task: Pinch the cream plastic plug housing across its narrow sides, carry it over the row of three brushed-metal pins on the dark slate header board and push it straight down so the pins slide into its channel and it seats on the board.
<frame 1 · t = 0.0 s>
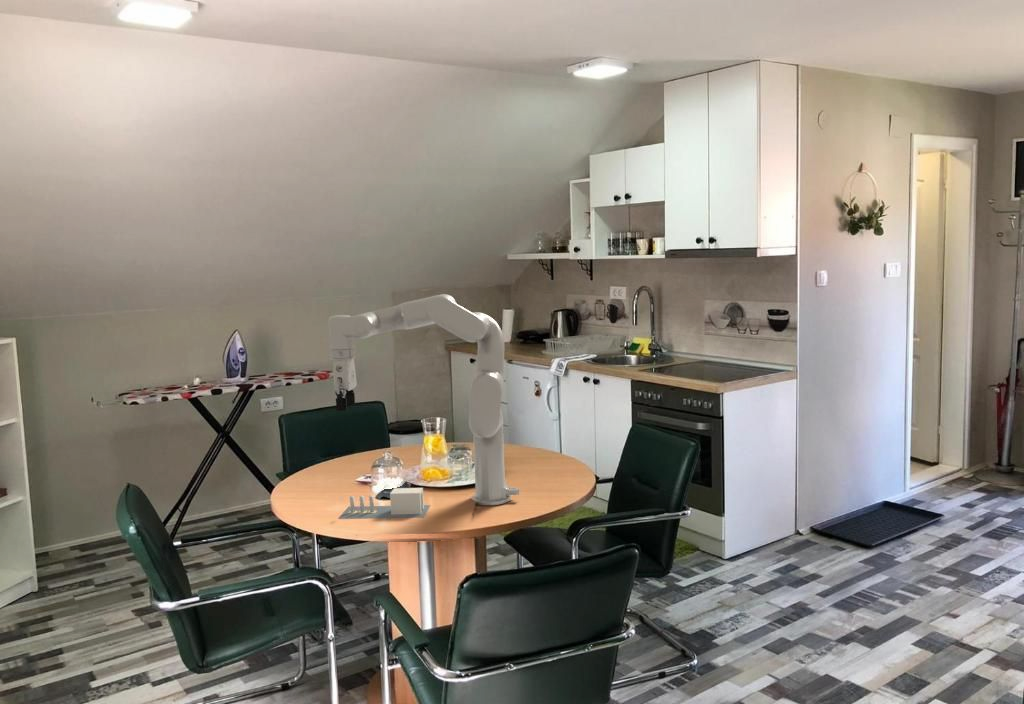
hand: (346, 407, 267), 31 cm above the table, tool pointing down, fingers open, 9 cm apart
plug housing: (407, 511, 255), point 1 cm above the table, touching header board
header board: (385, 515, 256), on the table
electronic device: (393, 498, 276), on the table
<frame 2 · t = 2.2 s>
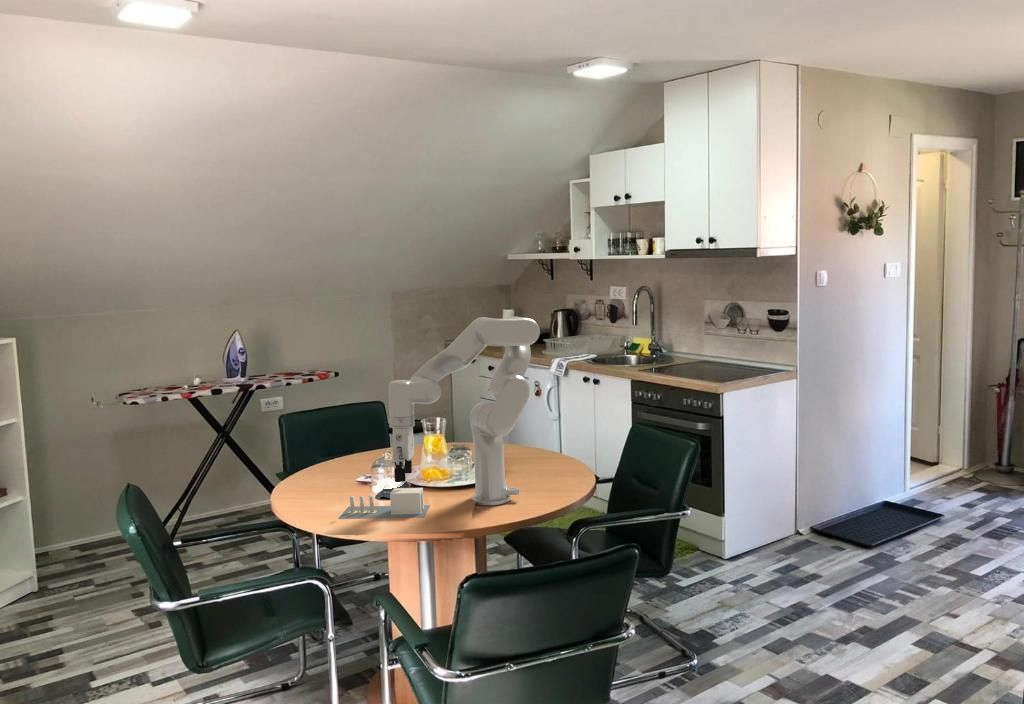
hand: (403, 477, 254), 12 cm above the table, tool pointing down, fingers open, 9 cm apart
nothing on the table moved.
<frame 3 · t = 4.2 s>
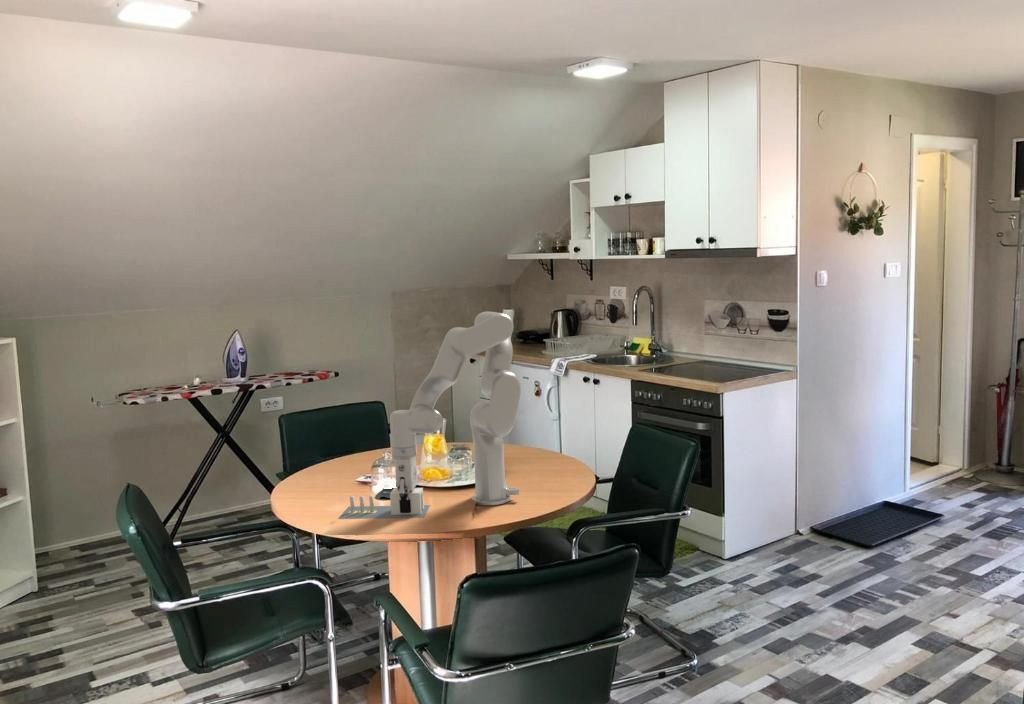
hand: (407, 508, 255), 2 cm above the table, tool pointing down, fingers closed on plug housing, 5 cm apart
plug housing: (407, 511, 255), point 1 cm above the table, touching gripper, header board
everything else where it was.
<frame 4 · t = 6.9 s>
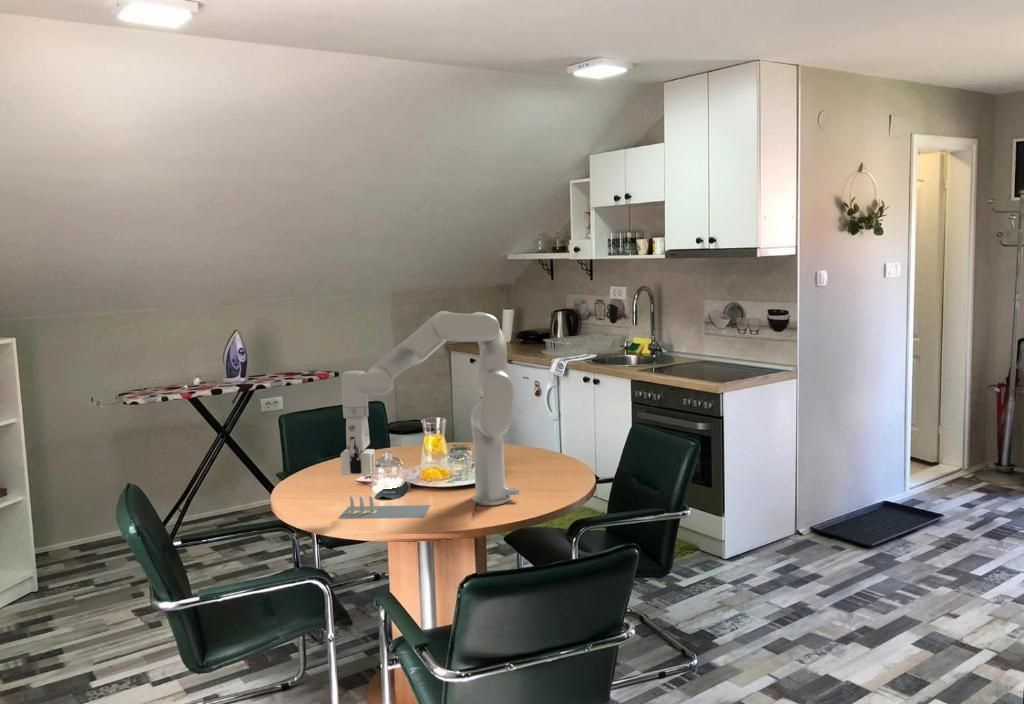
hand: (358, 469, 255), 14 cm above the table, tool pointing down, fingers closed on plug housing, 5 cm apart
plug housing: (358, 472, 255), point 14 cm above the table, touching gripper
everything else where it was.
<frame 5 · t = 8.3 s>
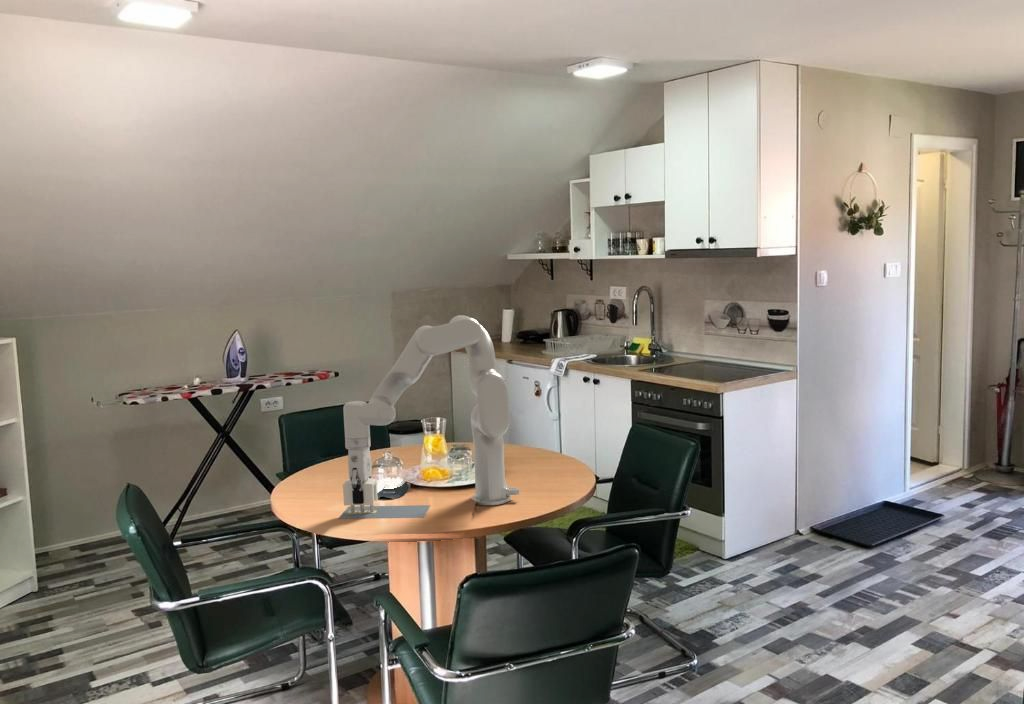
hand: (361, 499, 256), 5 cm above the table, tool pointing down, fingers closed on plug housing, 5 cm apart
plug housing: (361, 502, 256), point 4 cm above the table, touching gripper
everything else where it was.
when the fingers open (2 cm above the table, at t = 9.6 s): plug housing stays where it is, resting on header board.
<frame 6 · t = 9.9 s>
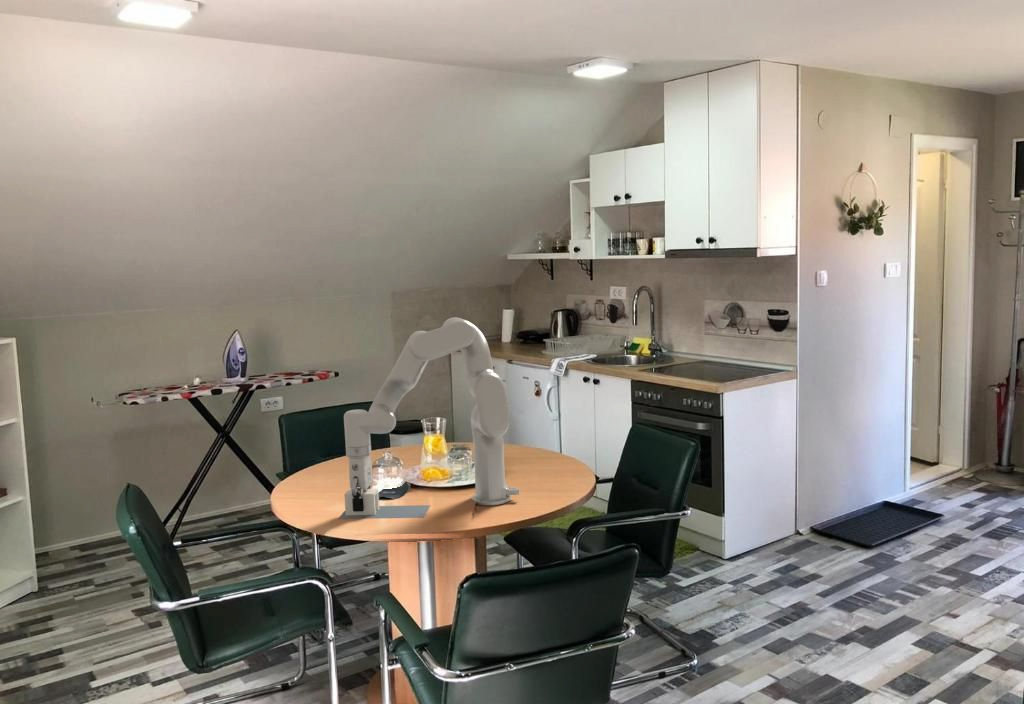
hand: (362, 506, 256), 3 cm above the table, tool pointing down, fingers open, 8 cm apart
plug housing: (362, 512, 256), point 1 cm above the table, touching header board
everything else where it was.
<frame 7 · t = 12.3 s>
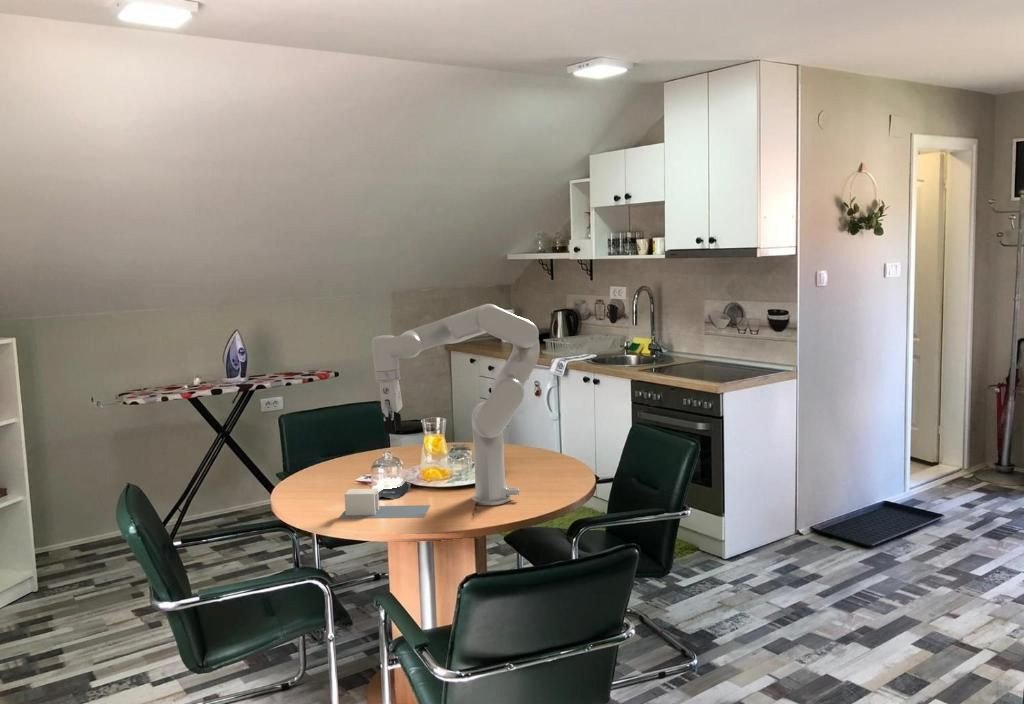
hand: (393, 429, 261), 25 cm above the table, tool pointing down, fingers open, 9 cm apart
nothing on the table moved.
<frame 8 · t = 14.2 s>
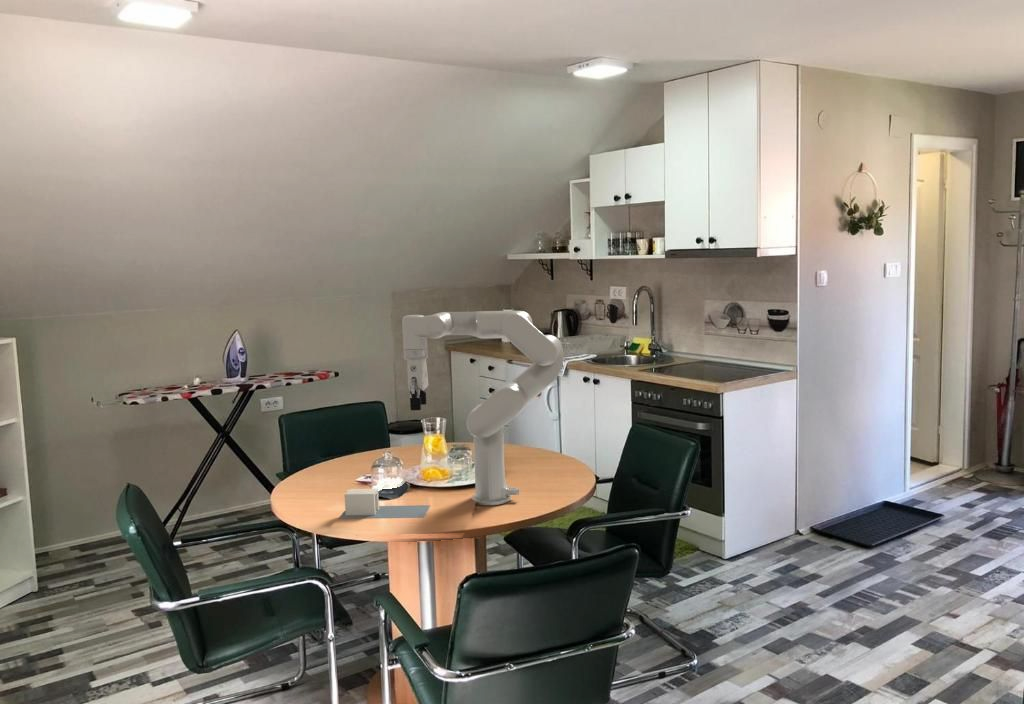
hand: (418, 407, 268), 30 cm above the table, tool pointing down, fingers open, 9 cm apart
nothing on the table moved.
at the end: plug housing 0.0 cm from the target spot on the header board, point 1.2 cm above the header board's base; plug housing tilted 0°; the gripper is holding nothing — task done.
